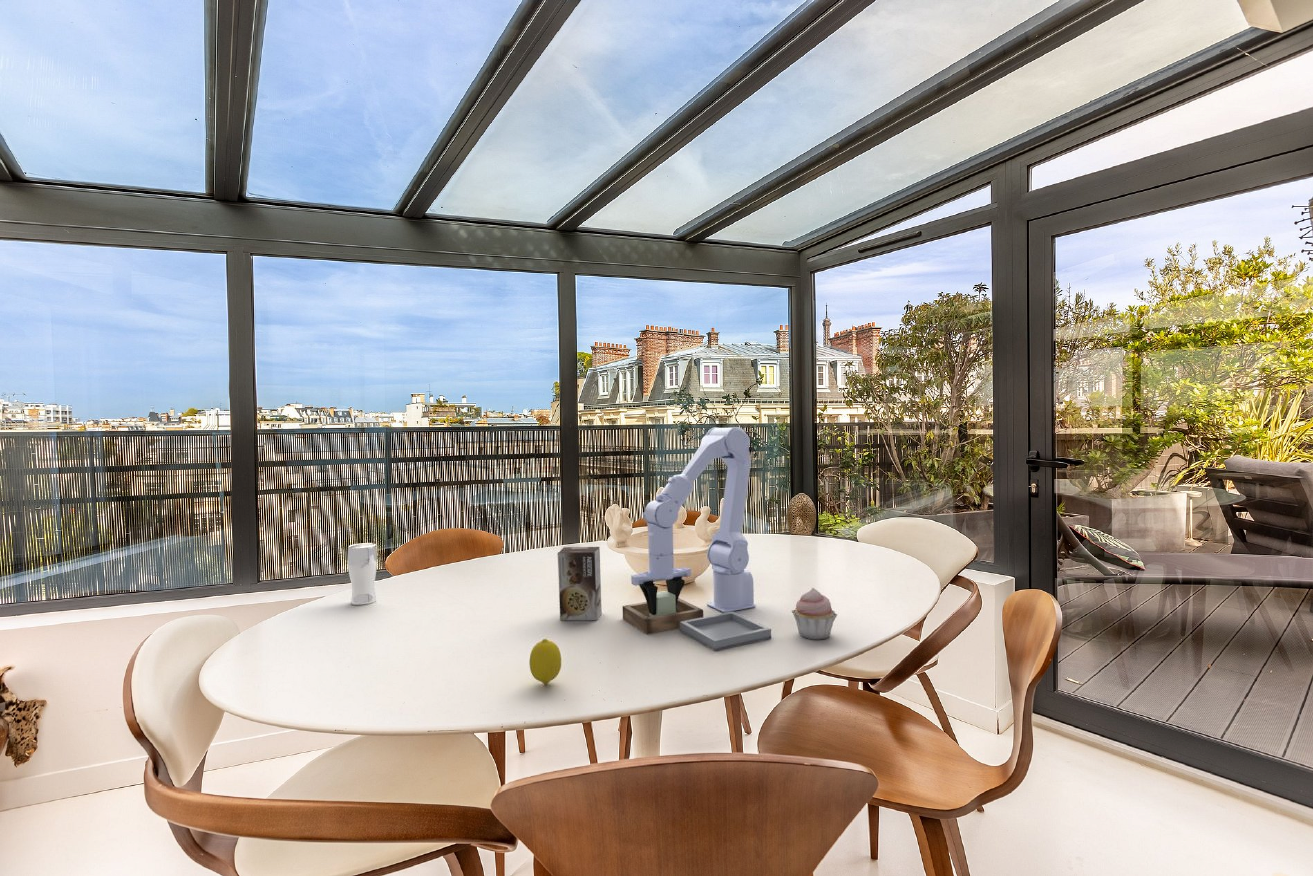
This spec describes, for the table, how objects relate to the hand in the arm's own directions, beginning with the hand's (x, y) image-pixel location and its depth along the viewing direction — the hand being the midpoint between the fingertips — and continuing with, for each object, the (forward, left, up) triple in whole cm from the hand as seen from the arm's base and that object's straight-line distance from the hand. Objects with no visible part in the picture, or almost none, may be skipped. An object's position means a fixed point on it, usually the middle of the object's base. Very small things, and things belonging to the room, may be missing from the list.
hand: (662, 611), depth 142 cm
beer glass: (+60, -55, -2) cm, 81 cm away
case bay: (0, 0, -2) cm, 2 cm away
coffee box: (+15, -13, -2) cm, 20 cm away
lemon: (+34, +20, -2) cm, 40 cm away
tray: (-7, +15, -2) cm, 17 cm away
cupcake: (-23, +25, -2) cm, 34 cm away
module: (0, 0, -2) cm, 2 cm away
